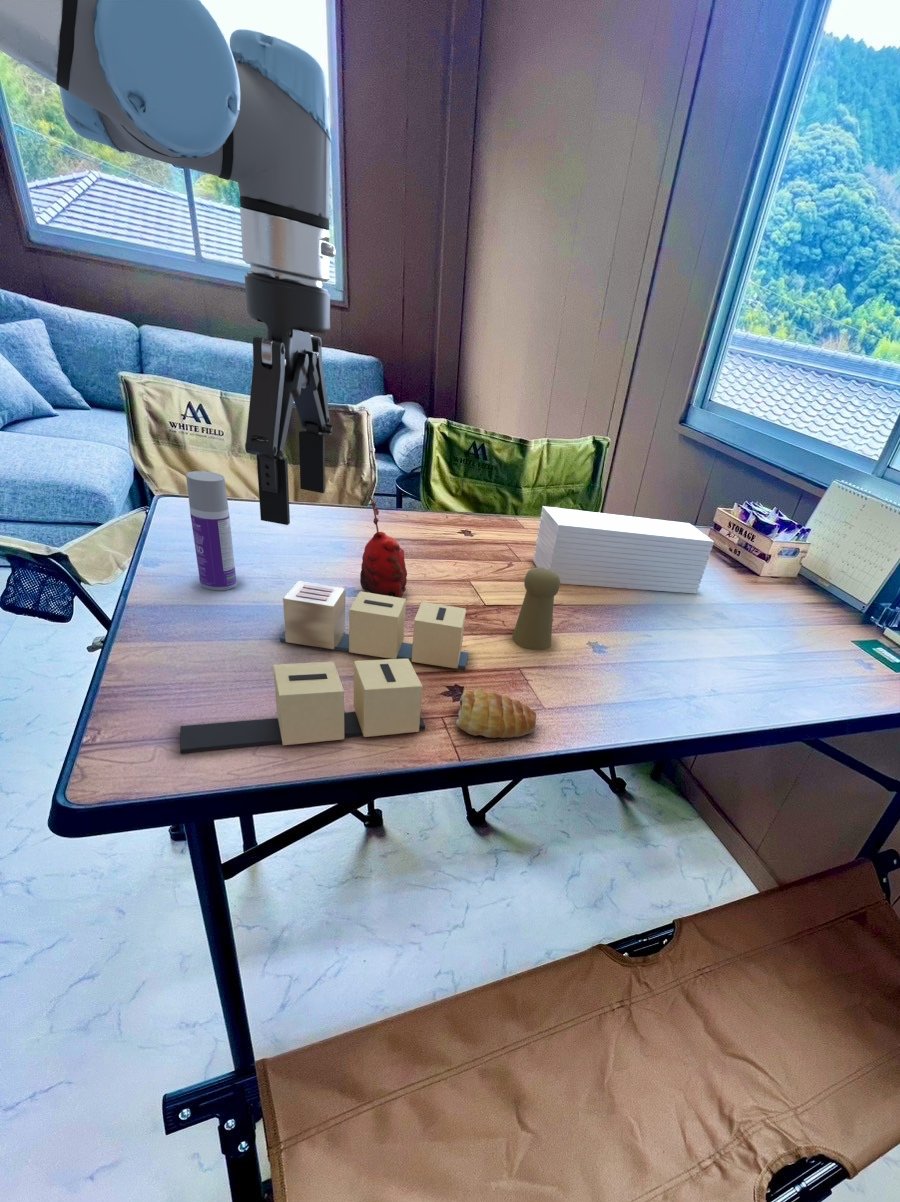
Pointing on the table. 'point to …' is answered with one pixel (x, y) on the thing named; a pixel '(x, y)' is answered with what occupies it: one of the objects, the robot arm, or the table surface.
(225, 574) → the container
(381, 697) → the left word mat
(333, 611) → the red striped cream cube
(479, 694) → the pastry
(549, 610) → the olive pawn figure
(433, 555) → the table surface
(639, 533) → the stack of papers
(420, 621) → the right word mat
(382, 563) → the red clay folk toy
